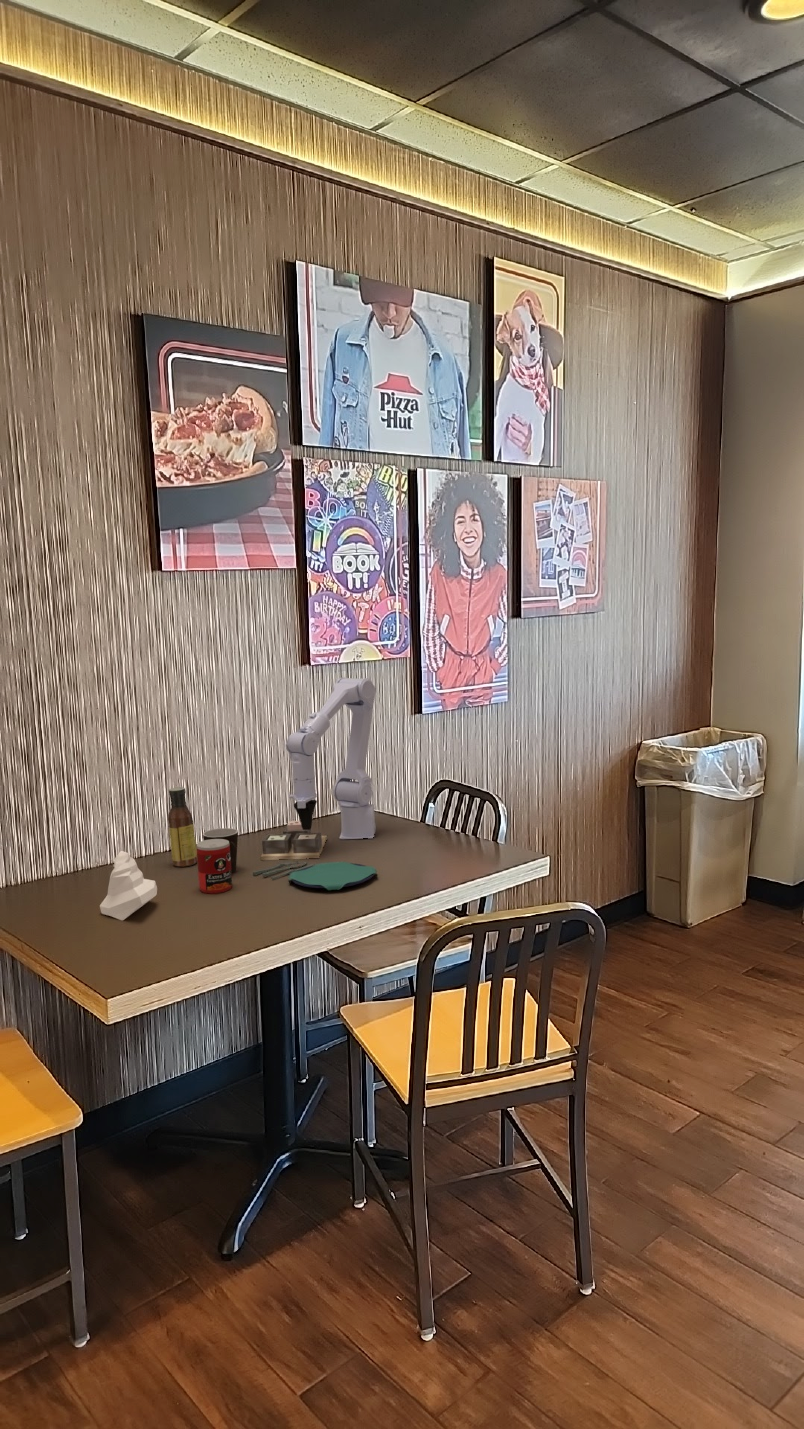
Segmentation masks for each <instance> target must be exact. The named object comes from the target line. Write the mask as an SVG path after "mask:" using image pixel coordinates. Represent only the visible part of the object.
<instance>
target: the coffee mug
mask: <svg viewBox="0 0 804 1429" xmlns="http://www.w3.org/2000/svg"><path fill="white" fill-rule="evenodd" d="M238 836H239V830H238V829H236V828H231V827H222V828H221V827H219V828H214V829H210V830H206V831H204V832H203V833H202V837H203V841H204V840H210V839H225V840H228V841H229V844H230V857H231V873H232V874H234V873H236V872H237V860H238V859H237V858H238V857H237V856H238V840H239V838H238Z"/></svg>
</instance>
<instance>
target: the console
mask: <svg viewBox="0 0 804 1429" xmlns="http://www.w3.org/2000/svg"><path fill="white" fill-rule="evenodd" d="M313 834H317V836H316V839H298V838H299V836H300V835H313ZM281 835H287V837H286V838H285V840H268V838H269V837H270V836H281ZM326 840H328V835H322V832H312V828H311V829H310V830H297V831H288V827H287V825H286V826H285V828H284V829H283V831H282V833H271V834H269V833H268V834H266V835H265V836H264V837H263V839H262V841H261V844H262V845H261V846H262V853H261V855H260V861H280V860H279V859H288V860H310V859H309V858H319V859H320V857H321V855H320V854H322V852H323V850H324V848H323V847H325V845H326V843H327V841H326ZM325 842H326V843H325ZM319 856H320V857H319ZM306 858H307V859H306Z"/></svg>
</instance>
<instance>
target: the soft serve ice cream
mask: <svg viewBox="0 0 804 1429" xmlns="http://www.w3.org/2000/svg"><path fill="white" fill-rule="evenodd" d="M112 862H113V863H114V864H113V865H112V867H114V868H113V869H112V871H111V872H110V877H109V881H108V882H109V883H108V886H107V887H108V888H107V895H106V896H105V898H104V899H103V900H102V901H101V903H100V905H99V909H100V913H101V914H102V915H104V916H105V915H106V916H110V917H112V918H114V919H117V920H119V921H124V920H126V919H127V918H128V917H130V916H131V915H133V913H135V912H136V911H138V910H139V909H140V908H141V907H144V905H146V904H147V903H148V902H150V901H151V900H152V899H153V898H155V897H157V892H158V886H157V883H156V880H152V879H148V878H144V874H143V872H142V871H141V870H140V869H139V868H138V867H139V866H138V865H137V862H136V860H135V858H133V857H131V856H130V853H129V852H126V851H123V850H120V851H119V852H118V854H117V855H116V856H115V858H114V860H113V861H112Z"/></svg>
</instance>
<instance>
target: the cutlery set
mask: <svg viewBox="0 0 804 1429" xmlns="http://www.w3.org/2000/svg"><path fill="white" fill-rule="evenodd" d="M294 861H295V862H297V863H303V862H304V863H305V864H300V865H296V864H297V863H293V864H292V863H290V862H291V861H288V862H284V863H283V862H282V863H277V865H274V866H272V867H269V868H265V869H259V870H254V871H252V875H253V876H257V875H262V877H263V878H266V877H267V876H270V875H274V874H276V873H279V872H283V873H281V874H278V875H276V876H273V877H270V880H271V879H272V880H271V881H274V879H277V878H279V877H282V876H286V875H288V883H289V884H290V882H291V881H292V882H293V883H294V884H296V885H298V886H302V887H306V888H311V889H312V888H314V889H326V890H327V891H332V890H333V891H335V890H338V891H339V890H341V889H342V888H345V887H351V886H355V885H358V884H362V883H364V882H366V881H369V880H371V879H372V878H373V877H374V875H375V876H377V877H378V871H377V869H376V868H375V867H373V866H372V865H371V866H369V865H364V864H359V863H353V862H351V863H350V862H347V861H332V862H323V863H317V864H315V863H312V864H309V865H307V863H308V862H307V861H297V860H294ZM287 865H289V866H287ZM291 865H294V866H292V867H290V866H291ZM303 865H304V866H303ZM313 865H314V866H313ZM283 866H286V868H285V867H284V868H283ZM302 866H303V867H302ZM298 867H300V868H298ZM279 868H280V869H279ZM290 868H294V869H290ZM273 869H274V870H273ZM267 871H268V872H267ZM284 871H285V872H284ZM290 880H291V881H290Z"/></svg>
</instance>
